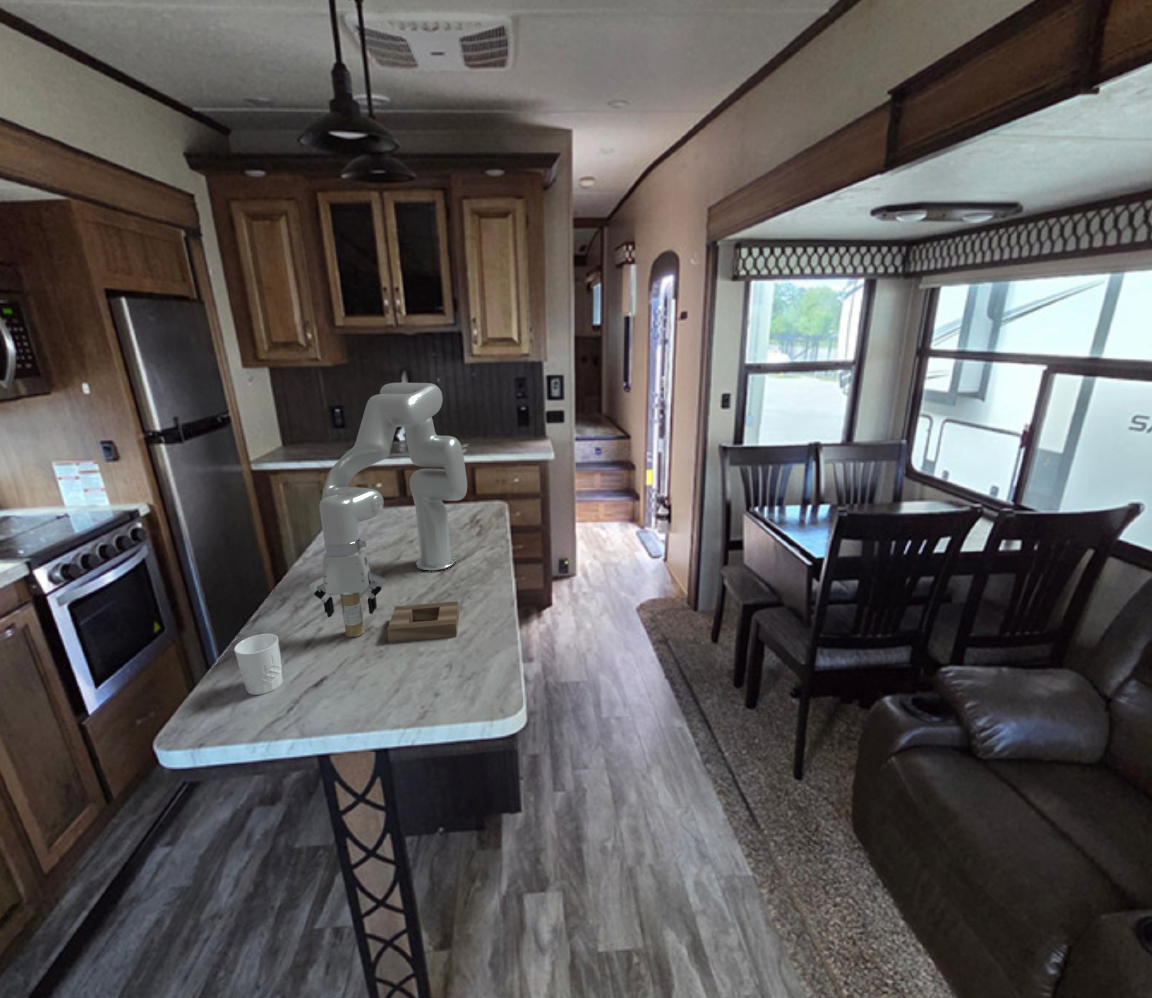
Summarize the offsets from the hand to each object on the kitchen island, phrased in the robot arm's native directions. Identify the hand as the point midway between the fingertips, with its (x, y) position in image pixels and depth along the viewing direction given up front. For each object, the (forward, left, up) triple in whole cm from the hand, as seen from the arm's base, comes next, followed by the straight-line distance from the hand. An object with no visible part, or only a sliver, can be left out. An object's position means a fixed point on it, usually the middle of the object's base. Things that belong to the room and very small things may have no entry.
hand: (351, 613), depth 132 cm
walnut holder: (0, +17, -6) cm, 18 cm away
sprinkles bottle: (0, 0, -6) cm, 6 cm away
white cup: (+19, -14, -6) cm, 24 cm away
